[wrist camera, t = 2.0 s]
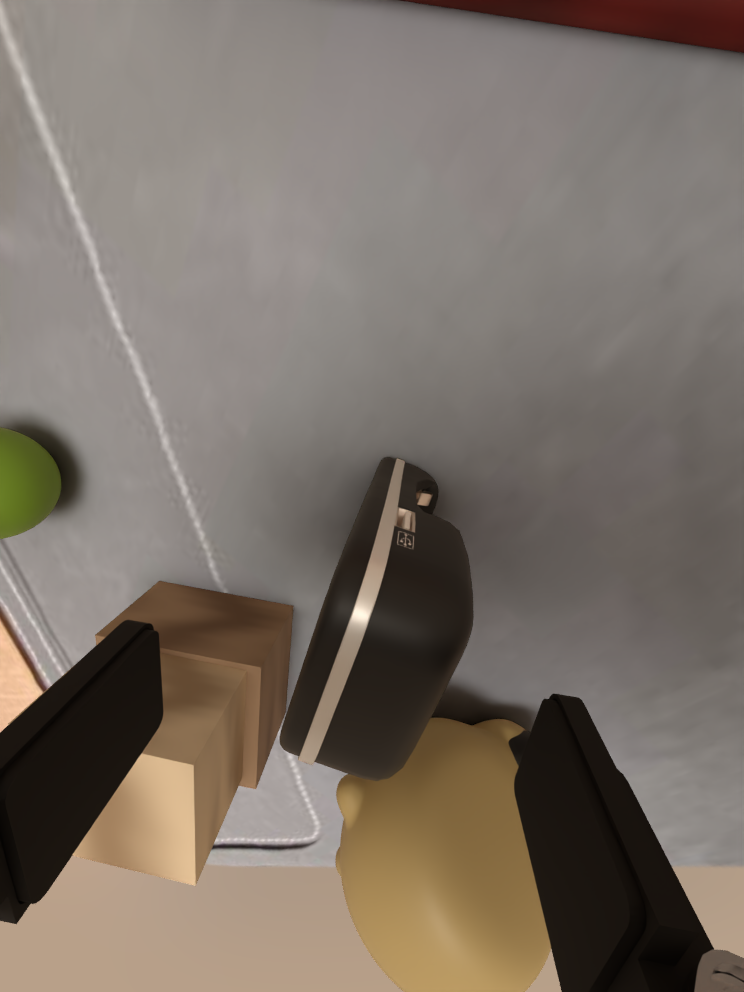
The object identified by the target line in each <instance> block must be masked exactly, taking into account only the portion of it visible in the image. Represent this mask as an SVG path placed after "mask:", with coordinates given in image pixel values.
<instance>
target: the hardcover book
mask: <svg viewBox="0 0 744 992" xmlns="http://www.w3.org/2000/svg"><path fill="white" fill-rule="evenodd" d="M401 1H408V2H415V3H421V4H428V5H434V6H441V7H447V8H454V9H461V10H467V11H474V12H480V13H487V14H493V15H500V16H507V17H513V18H520V19H526V20H533V21H539V22H546V23H553V24H559V25H566V26H572V27H579V28H585V29H592V30H598V31H605V32H612V33H618V34H625V35H631V36H638V37H644V38H651V39H658V40H664V41H671V42H677V43H684V44H690V45H697V46H704V47H710V48H717V49H723V50H730V51H736V52H743V53H744V0H401Z"/></svg>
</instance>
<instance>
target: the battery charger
mask: <svg viewBox="0 0 744 992" xmlns="http://www.w3.org/2000/svg"><path fill="white" fill-rule="evenodd" d="M437 498H438V486H437V484H436V482H435V481H434V479H433V478H432V477H431V476H430V475H429V474H427V473H426V472H424V471H422V470H421V469H419V468H418V467H415V466H412V465H409V464H406V463H405V461H403V460H400V459H398V458H397V459H396V460H395V459H392V458H388V457H387V458H383V459H382V460H381V462H380V464H379V466H378V468H377V471H376V473H375V476H374V478H373V481H372V483H371V485H370V487H369V490H368V492H367V494H366V497H365V499H364V501H363V504H362V506H361V508H360V511H359V513H358V516H357V518H356V520H355V523H354V525H353V528H352V530H351V532H350V535H349V537H348V540H347V542H346V544H345V547H344V549H343V552H342V554H341V557H340V559H339V562H338V565H337V567H336V570H335V572H334V575H333V578H332V581H331V583H330V586H329V589H328V592H327V595H326V597H325V600H324V603H323V606H322V609H321V612H320V615H319V618H318V621H317V624H316V627H315V630H314V633H313V636H312V639H311V642H310V645H309V648H308V651H307V654H306V657H305V660H304V663H303V666H302V669H301V672H300V675H299V678H298V681H297V684H296V687H295V690H294V693H293V696H292V699H291V702H290V705H289V708H288V711H287V714H286V717H285V720H284V723H283V726H282V730H281V734H280V745H281V746H282V748H283V749H284V750H285V751H287V752H289V753H291V754H294V755H297V756H298V760H299V761H302V762H305V763H308V764H311V765H312V764H313V763H314V762H317V763H320V764H322V765H325V766H328V767H331V768H334V769H337V770H339V771H342V772H345V773H348V774H351V775H353V776H356V777H359V778H363V779H368V780H373V781H379V780H384V779H389V778H390V777H392V776H393V775H394V774H396V773H397V772H398V771H399V770H401V769H402V768H403V767H404V765H405V764H406V762H407V760H408V759H409V757H410V755H411V754H412V752H413V750H414V749H415V747H416V745H417V743H418V741H419V739H420V737H421V735H422V733H423V732H424V730H425V728H426V726H427V724H428V722H429V720H430V718H431V716H432V714H433V713H434V711H435V709H436V707H437V705H438V703H439V701H440V699H441V697H442V695H443V693H444V691H445V689H446V687H447V685H448V683H449V681H450V679H451V677H452V675H453V673H454V671H455V669H456V667H457V665H458V663H459V661H460V659H461V657H462V655H463V653H464V650H465V648H466V646H467V643H468V640H469V638H470V635H471V630H472V626H473V591H472V581H471V573H470V566H469V559H468V555H467V552H466V548H465V545H464V542H463V539H462V536H461V534H460V531H459V530H458V529H457V528H455V527H454V526H453V525H452V524H451V523H449V522H447V521H445V520H443V519H441V518H439V517H436V516H434V515H432V513H433V510H434V508H435V505H436V502H437Z"/></svg>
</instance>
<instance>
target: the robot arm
mask: <svg viewBox="0 0 744 992" xmlns="http://www.w3.org/2000/svg"><path fill="white" fill-rule="evenodd" d="M163 712H164V711H163V694H162V677H161V660H160V642H159V633H158V632H157V631H154V627H153V625H152V624H150V623H145V622H139V621H133V620H125V621H123V622H122V623H121V624H119V625H118V626H117V627H116V628H115V629H114V630H113V631H112V632H111V633H110V634H109V635H107V636H106V637H105V638H104V639H103V640H102V641H101V642H100V643H99V644H98V645H96V646H95V647H94V648H93V649H92V650H91V651H90V652H89V653H88V654H87V655H86V656H84V657H83V658H82V659H81V660H80V661H79V662H78V663H77V664H76V665H75V666H74V667H72V668H71V669H70V670H69V671H68V672H67V673H66V674H65V675H64V676H63V677H61V678H60V679H59V680H58V681H56V682H55V683H54V684H53V685H52V686H51V687H50V688H49V689H48V690H47V691H45V692H44V693H43V694H42V695H41V696H40V697H39V698H38V699H37V700H36V701H35V702H33V703H32V704H31V705H30V706H29V707H28V708H27V709H26V710H25V711H24V712H22V713H21V714H20V715H19V716H18V717H17V718H16V719H15V720H14V721H13V722H11V723H10V724H9V725H8V726H7V727H6V728H5V729H4V730H3V731H2V732H1V733H0V921H4V922H9V923H14V924H17V922H18V921H19V920H20V918H21V917H22V915H23V914H24V912H25V911H26V910H27V908H28V907H29V905H30V904H31V903H32V904H34V903H37V902H38V901H40V900H41V899H42V897H43V896H44V895H45V894H46V893H47V891H48V890H49V889H50V887H51V886H52V884H53V882H54V881H55V880H56V878H57V877H58V875H59V874H60V872H61V871H62V869H63V868H64V867H65V865H66V864H67V862H68V861H69V859H70V858H71V856H72V855H73V853H74V852H75V850H76V849H77V848H78V846H79V845H80V843H81V842H82V840H83V839H84V837H85V836H86V834H87V833H88V831H89V830H90V828H91V827H92V825H93V824H94V823H95V821H96V820H97V818H98V817H99V815H100V814H101V812H102V811H103V809H104V808H105V806H106V805H107V803H108V802H109V801H110V799H111V798H112V796H113V795H114V793H115V792H116V790H117V789H118V787H119V786H120V784H121V783H122V781H123V780H124V778H125V777H126V776H127V774H128V773H129V771H130V770H131V768H132V767H133V765H134V764H135V762H136V761H137V759H138V758H139V756H140V755H141V754H142V752H143V751H144V749H145V748H146V746H147V745H148V743H149V742H150V740H151V739H152V737H153V736H154V734H155V733H156V731H157V730H158V728H159V726H160V724H161V722H162V719H163ZM514 793H515V798H516V802H517V807H518V811H519V815H520V819H521V823H522V827H523V832H524V836H525V840H526V844H527V848H528V852H529V857H530V861H531V865H532V869H533V873H534V878H535V882H536V886H537V890H538V894H539V898H540V903H541V907H542V911H543V915H544V919H545V923H546V928H547V932H548V936H549V940H550V944H551V949H552V953H553V957H554V961H555V965H556V969H557V974H558V977H559V982H560V986H561V990H562V992H744V958H742V957H740V956H737V955H735V954H733V953H730V952H728V951H725V950H724V951H723V950H714V948H713V946H712V945H711V943H710V940H709V938H708V937H707V935H706V933H705V931H704V929H703V927H702V925H701V923H700V921H699V919H698V917H697V915H696V913H695V911H694V910H693V908H692V906H691V904H690V902H689V900H688V898H687V896H686V894H685V892H684V890H683V888H682V886H681V884H680V882H679V880H678V878H677V876H676V874H675V872H674V871H673V868H672V867H671V865H670V863H669V861H668V859H667V857H666V855H665V853H664V851H663V849H662V847H661V845H660V843H659V841H658V839H657V837H656V835H655V833H654V832H653V830H652V828H651V826H650V824H649V822H648V820H647V818H646V816H645V814H644V812H643V810H642V808H641V806H640V804H639V802H638V800H637V798H636V797H635V795H634V793H633V791H632V789H631V787H630V785H629V783H628V781H627V780H626V778H625V777H624V775H623V774H622V773H621V772H620V771H619V770H618V769H617V768H616V766H615V764H614V762H613V760H612V758H611V756H610V754H609V752H608V751H607V749H606V747H605V745H604V743H603V741H602V739H601V737H600V735H599V733H598V731H597V729H596V727H595V725H594V723H593V721H592V719H591V717H590V715H589V713H588V711H587V709H586V707H585V705H584V703H583V702H582V700H581V699H580V698H577V697H571V696H565V695H560V694H552V695H551V696H550V698H549V699H544V700H543V701H542V703H541V706H540V709H539V711H538V714H537V717H536V720H535V723H534V725H533V728H532V731H531V734H530V736H529V739H528V742H527V745H526V748H525V750H524V753H523V756H522V759H521V761H520V764H519V767H518V770H517V772H516V775H515V779H514Z"/></svg>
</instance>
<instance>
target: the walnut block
mask: <svg viewBox="0 0 744 992" xmlns="http://www.w3.org/2000/svg"><path fill="white" fill-rule="evenodd" d="M292 619H293V606H291V605H286V604H281V603H275V602H270V601H264V600H259V599H254V598H248V597H243V596H237V595H232V594H227V593H221V592H216V591H210V590H205V589H200V588H194V587H189V586H184V585H178V584H173V583H167V582H162V581H159V582H158V583H156V584H155V585H154V586H153V587H152V588H151V589H149V590H148V591H147V592H146V593H145V594H143V595H142V596H141V597H140V598H139V599H137V600H136V601H135V602H134V603H133V604H132V605H130V606H129V607H128V608H127V609H126V610H124V611H123V612H122V613H121V614H120V615H119V616H117V617H116V618H115V619H114V620H113V621H111V622H110V623H109V624H108V625H107V626H105V627H104V628H103V629H102V630H101V631H100V632H98V633H97V634H96V635H95V637H96V645H98V644H99V643H100V642H101V641H102V640H103V639H104V638H105V637H106V636H107V635H109V634H110V633H111V632H112V631H113V630H114V629H115V628H116V627H117V626H118V625H119V624H121V623H122V622H123V621H125V620H133V621H139V622H145V623H150V624H152V625H153V627H154V631H157V632H158V633H159V642H160V653H164V654H168V655H173V656H178V657H183V658H188V659H193V660H198V661H202V662H207V663H212V664H217V665H222V666H227V667H232V668H236V669H241V670H246V671H247V677H246V700H245V724H244V747H243V770H242V779H241V781H240V784H239V786H244V787H248V788H253V789H256V788H257V785H258V782H259V780H260V777H261V775H262V772H263V770H264V767H265V764H266V762H267V759H268V757H269V754H270V751H271V749H272V746H273V744H274V741H275V739H276V736H277V733H278V731H279V728H280V726H281V723H282V720H283V718H284V715H285V713H286V701H287V687H288V673H289V660H290V646H291V632H292Z"/></svg>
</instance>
